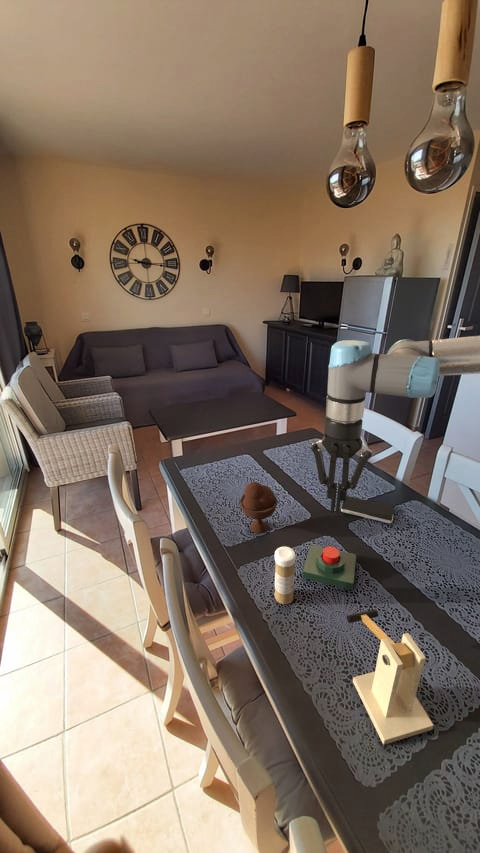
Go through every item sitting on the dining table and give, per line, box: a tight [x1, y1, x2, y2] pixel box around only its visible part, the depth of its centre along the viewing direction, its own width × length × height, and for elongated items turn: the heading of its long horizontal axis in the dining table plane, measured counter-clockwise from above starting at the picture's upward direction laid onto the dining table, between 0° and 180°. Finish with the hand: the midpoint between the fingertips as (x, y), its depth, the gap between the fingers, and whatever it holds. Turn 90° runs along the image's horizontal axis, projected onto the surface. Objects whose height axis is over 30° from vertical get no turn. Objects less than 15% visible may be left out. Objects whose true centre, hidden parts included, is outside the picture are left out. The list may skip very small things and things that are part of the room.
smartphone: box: [340, 495, 395, 524], centre depth 113 cm, size 8×1×15 cm
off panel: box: [302, 544, 357, 591], centre depth 91 cm, size 12×10×4 cm
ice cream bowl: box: [239, 481, 279, 534], centre depth 105 cm, size 11×11×15 cm
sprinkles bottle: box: [274, 546, 297, 605], centre depth 82 cm, size 5×5×14 cm
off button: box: [323, 546, 340, 564], centre depth 90 cm, size 4×4×2 cm
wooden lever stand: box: [352, 632, 434, 746], centre depth 60 cm, size 10×9×15 cm
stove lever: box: [346, 609, 414, 670], centre depth 64 cm, size 14×6×2 cm, turn 11°
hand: (335, 510), depth 84 cm, fingers closed
